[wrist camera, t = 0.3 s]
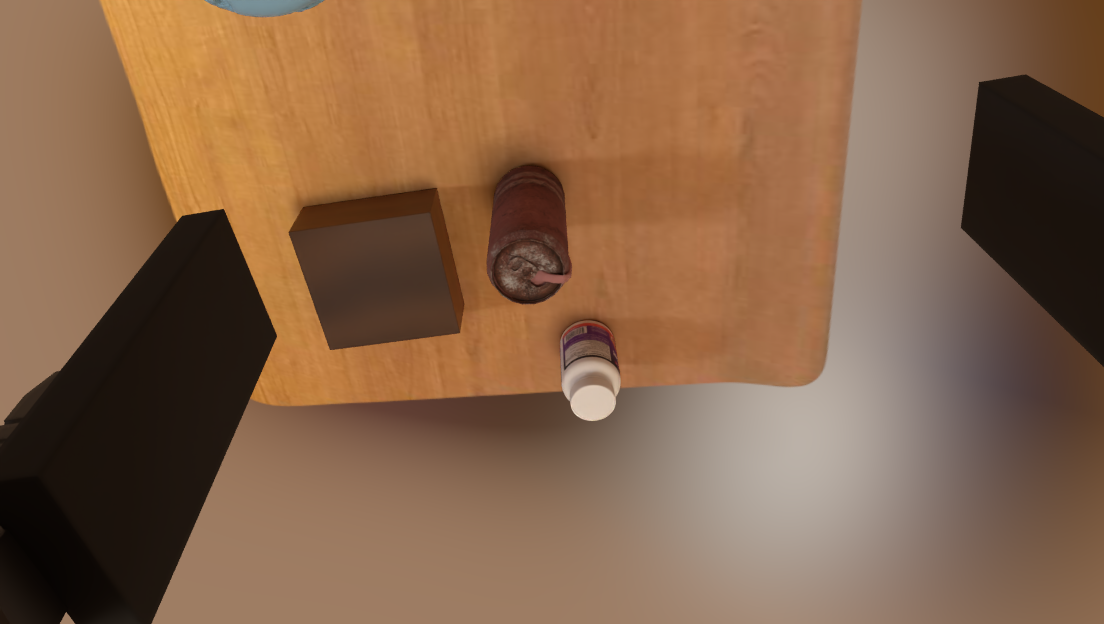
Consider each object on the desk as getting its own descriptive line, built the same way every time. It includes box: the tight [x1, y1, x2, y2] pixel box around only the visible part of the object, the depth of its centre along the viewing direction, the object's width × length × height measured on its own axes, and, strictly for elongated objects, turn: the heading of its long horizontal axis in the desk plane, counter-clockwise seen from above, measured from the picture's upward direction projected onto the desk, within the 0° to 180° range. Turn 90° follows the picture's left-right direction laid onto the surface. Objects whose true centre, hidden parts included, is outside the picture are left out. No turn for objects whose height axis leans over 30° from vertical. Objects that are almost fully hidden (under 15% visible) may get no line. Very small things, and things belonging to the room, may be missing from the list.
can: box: [487, 166, 572, 304], centre depth 65 cm, size 6×6×14 cm
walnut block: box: [289, 188, 464, 350], centre depth 72 cm, size 12×12×5 cm
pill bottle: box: [560, 320, 621, 421], centre depth 75 cm, size 5×5×10 cm
